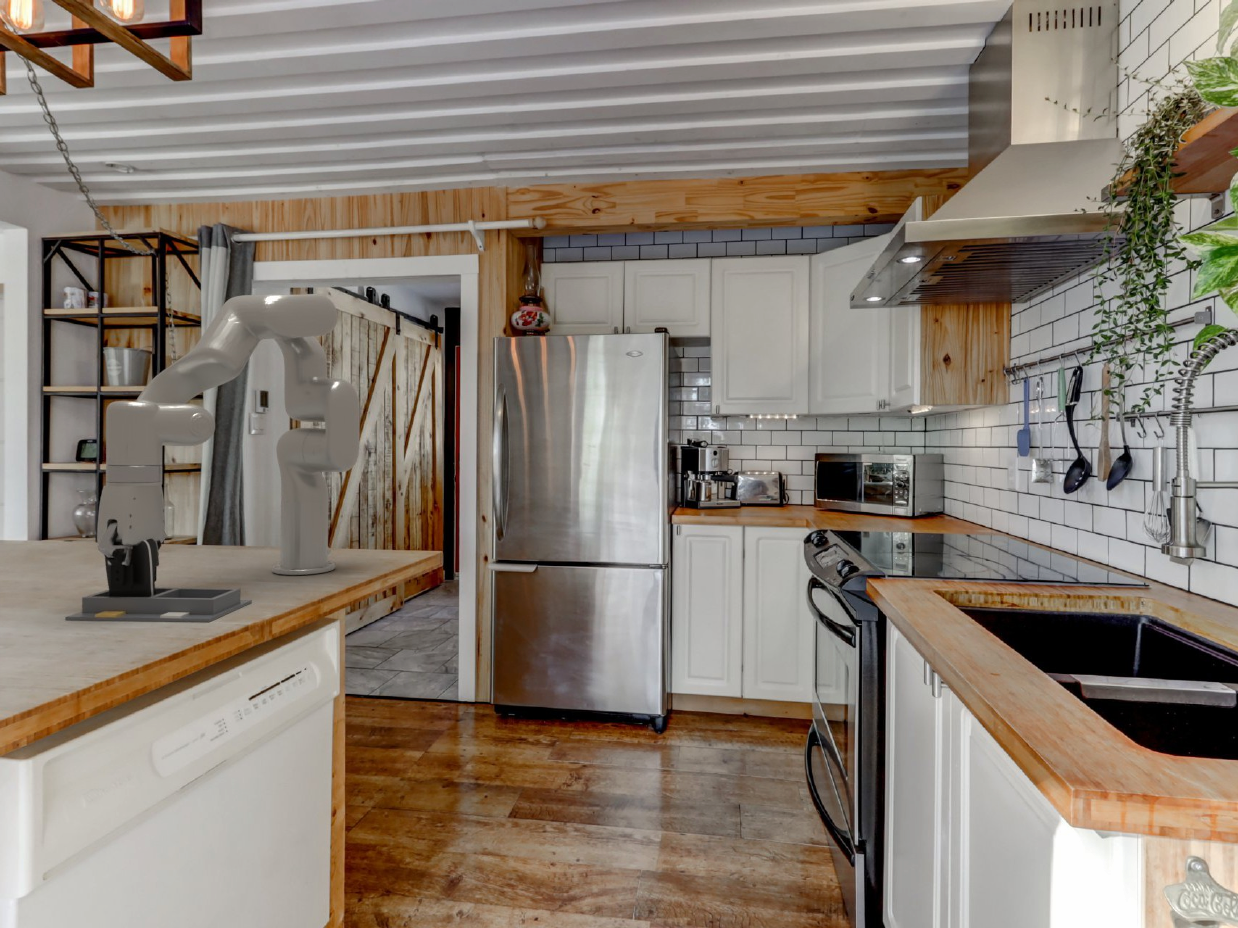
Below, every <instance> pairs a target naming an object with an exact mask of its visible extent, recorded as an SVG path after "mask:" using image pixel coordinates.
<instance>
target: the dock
mask: <svg viewBox="0 0 1238 928" xmlns="http://www.w3.org/2000/svg"><path fill="white" fill-rule="evenodd" d="M155 590H156V593H157V595H154V596H151V597H109V589H107V590H104V591H100V592H97V593H94V594H93V593H92V594H89V595H86V596H82V598H81V606H82V607H81V611H80V612H76V613H73V614H70V615H66V616H64V617H65V618H64V619H65V621H94V622H95V621H97V622H98V621H99V622H101V621H103V622H104V621H108V622H114V621H115V622H164V623H165V622H167V623H168V622H169V623H171V622H175V623H177V622H179V623H180V622H181V623H184V622H185V623H210V622H212V621H216V620H217V619H219V618H222V617H223V616H226V615H228V614H230V613H232V612H234V611H237V610H239V609H241V608H243V607H245V606H248V605H250V604H252V601H253V600H252V599H241V588H216V587H215V588H212V587H211V588H209V587H206V588H205V587H201V588H200V587H157V586H155Z"/></svg>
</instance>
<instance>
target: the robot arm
mask: <svg viewBox="0 0 1238 928" xmlns="http://www.w3.org/2000/svg"><path fill="white" fill-rule="evenodd" d="M337 323H338V310H337V308H336V306H335V304H334V302H333V301H332V300H331V299H330V298H328V297H327V296H326V295H323V294H320V293H308V294H306V293H304V294H303V293H302V294H280V293H278V294H275V293H269V294H268V293H266V294H249V295H247V294H246V295H245V294H244V295H237V296H233V297H231V298H229V299H228V300H226V301H225V303H224V304H223V305H222V306H221V308H220V309H219V310H218V312H217V313H216V315H215V316H214V318H213V319H212V321H211V322H210V324H209V325H208V326H207V328H206V330H205V332H204V333H203V334H202V336H201V337H200V339H199V340H198V342H197V344H196V345H195V346H194V347H193V349H192V350H191V351H190V352H187V354H185V355H183V356H182V357H181V358H179V359H178V360H176V361H174V362H173V363H172V364H170V365H169V366H168V367H166V368H165V369H163V370H162V371H161V372H159V373H158V374H157V375H155V377H154V378H152V379H151V380H150V381H149V382H148V383H147V384H146V385H145V387H144V388H143V390H142V391H141V393H140V394H139V396H138V397H137V399H136V400H134V401H132V400H130V401H129V400H118V401H112V402H111V403H109V404H108V405H107V407H106V412H105V413H106V414H105V419H106V420H105V428H106V429H105V438H106V439H105V442H106V443H105V448H106V449H105V454H106V455H105V457H106V459H105V485H104V486H103V488H102V491H101V496H100V500H99V506H98V517H97V519H98V520H97V533H96V535H97V536H96V538H97V539H96V541H97V544H98V546H97V550H98V551H99V552H100V553H101V554H102V555H103V556H104V558H105V557H106V558H107V560H108V565H111V589H115V590H129V589H132V588H133V565H129V564H130V561H131V556H132V550H133V546H136V545H138V544H140V542H141V541H143V540H148V539H153V540H155V542H156V544H157V549H158V557H159V555H160V553H159V552H160V549H161V547H162V544H163V542H164V541H165V539H166V538H167V533H166V531H165V529H166V527H165V526H166V513H165V509H166V508H165V499H164V491H163V487H162V485H163V446H168V447H169V446H171V447H193V446H199V445H202V444H204V443H206V442H207V441H209V440H210V439H211V438H212V437H213V435H214V433H215V430H216V421H215V419H214V416H213V415H212V414H211V412H209V411H208V410H207V409H206V408H204V407H203V406H200V405H198V404H193V403H188V402H189V401H190V400H192V399H193V398H195V397H196V396H198V395H200V394H202V393H203V392H206V391H209V390H211V389H214V388H216V387H219V386H222V385H224V384H226V383H229V382H231V381H233V380H234V379H235V378H238V376H240V374H241V373H242V371H243V370H244V368H245V366H246V364H247V363H248V361H249V359H250V358H251V356H252V355H253V353H254V351H255V350H256V349H257V346H258V345H259V343H261V341H262V340H266V339H267V340H274V341H275V342H276V344H277V345H278V347H279V349H280V350H281V353H282V354H281V355H282V358H283V362H284V364H283V367H284V369H283V370H284V375H283V377H284V379H283V380H284V385H283V386H284V389H283V392H284V394H283V396H284V397H283V398H284V409H285V412H286V414H287V416H288V417H289V418H290V419H292V420H295V421H298V422H307V423H324V426H325V427H324V428H320V427H297V428H293V429H289V430H287V431H285V432H284V433H282V434H281V436H280V437H279V439H278V440H277V444H276V448H275V449H276V450H275V451H276V458H277V462H278V467H279V475H280V486H281V487H280V489H281V492H280V498H281V500H280V555H279V556H280V563H277V564H273V566H272V568H271V569H272V573H274V574H277V575H287V576H288V575H289V576H300V575H302V576H305V575H315V574H316V575H317V574H323V573H328V572H331V571H334V569H336V563H335V562H333V561H329V560H328V559H329V558H328V556H329V555H330V554H331V552H332V550H331V548H330V547H329V546H328V545H329V499H330V498H329V496H330V495H329V493H330V492H329V487H328V484H327V481H326V479H325V477H324V475H323V474H322V472H323V473H344V472H348V471H349V470H351V469H352V468H353V467H355V465H356V463H357V462H358V458H359V454H360V428H361V427H360V425H361V424H360V423H361V422H360V414H361V413H360V411H361V410H360V399H359V395H358V393H357V391H356V389H355V387H354V386H353V384H352V383H350V382H349V381H348V380H345V379H342V378H328V369H327V368H328V367H327V355H326V353H325V350H324V348H323V346H322V345H321V343H320V342H319V340H318V339H317V338H316V337H319V336H326V335H328V334H330V333H331V332H332V331H333V330H334V329H335V328H336V326H337ZM119 542H122V544H123V545H119ZM119 550H124V554H123V555H122V553H121V552H120V551H119ZM157 567H158V566H156V567H154V568H155V571H154V573H155V582H157V572H158V571H157Z"/></svg>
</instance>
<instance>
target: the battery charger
mask: <svg viewBox="0 0 1238 928" xmlns="http://www.w3.org/2000/svg"><path fill="white" fill-rule="evenodd" d="M119 545H123V544H122V542H119ZM119 551H120V552H121V553H122V555H123V554H124V550H119ZM159 558H160V557H159V556H158V549H157V544H156V542H155V540H153V539H148V540H143V541H141V542H140V544H138V545H136V546H133V550H132V556H131V561H130V564H129V565H133V588H132V589H129V590H115V589H111V565H108V560H107V558H106V557H105V556H104V561H105V562H104V563H105V564H104V565H105V571H106V580H107V587H108V590H109V597H151V596H154V595H157V593H156V590H155V587H156V583H155V582H156V581H155V573H154V571H155V568H154V567H156V566H157V567H159V566H160V561H159V560H160V559H159Z"/></svg>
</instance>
